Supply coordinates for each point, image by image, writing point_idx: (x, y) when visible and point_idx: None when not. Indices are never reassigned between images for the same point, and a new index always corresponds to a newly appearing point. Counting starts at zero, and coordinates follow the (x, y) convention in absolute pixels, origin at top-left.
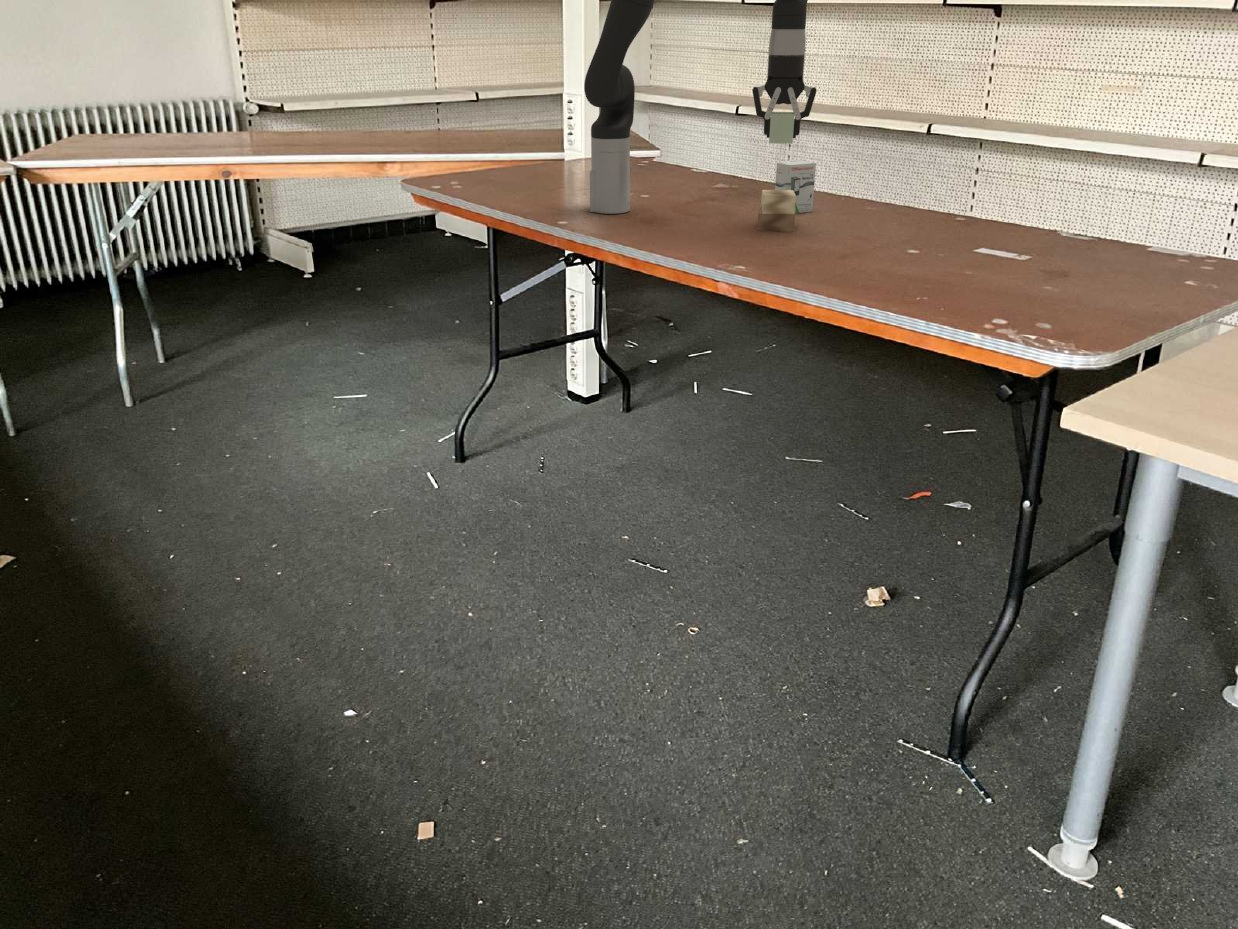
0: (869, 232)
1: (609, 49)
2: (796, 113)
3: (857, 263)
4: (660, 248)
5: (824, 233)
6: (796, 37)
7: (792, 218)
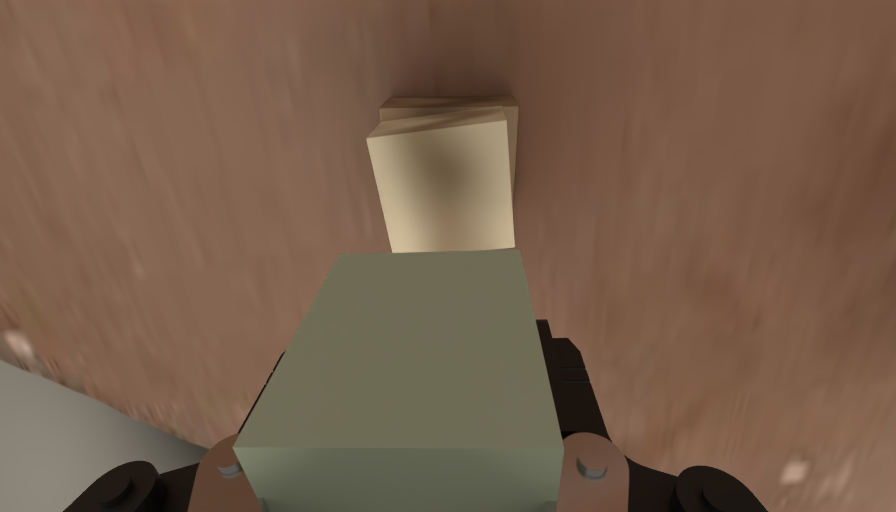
0: (160, 138)
1: None
2: (233, 495)
3: None
4: None
5: (286, 90)
6: None
7: (388, 105)
